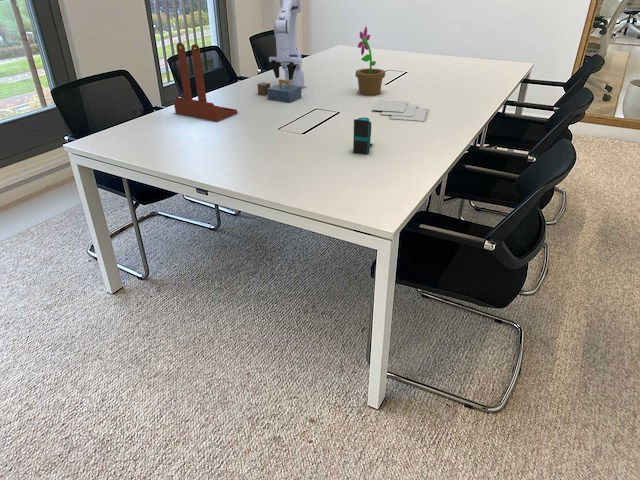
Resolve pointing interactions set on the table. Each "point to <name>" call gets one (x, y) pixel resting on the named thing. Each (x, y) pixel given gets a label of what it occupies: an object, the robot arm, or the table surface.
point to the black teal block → (362, 136)
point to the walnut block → (263, 88)
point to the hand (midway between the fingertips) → (284, 78)
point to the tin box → (284, 95)
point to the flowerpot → (368, 71)
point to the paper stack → (400, 110)
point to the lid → (284, 87)
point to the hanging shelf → (201, 105)
